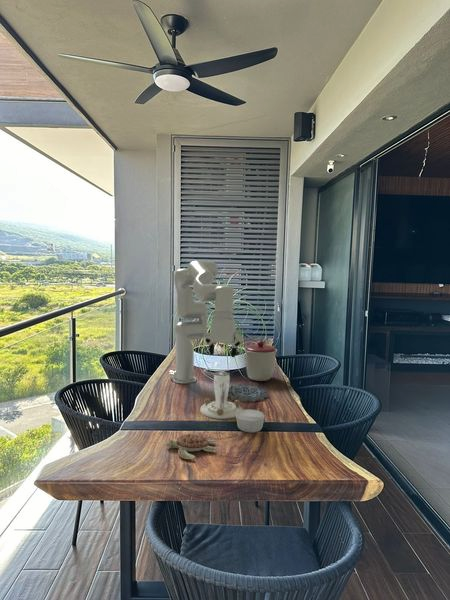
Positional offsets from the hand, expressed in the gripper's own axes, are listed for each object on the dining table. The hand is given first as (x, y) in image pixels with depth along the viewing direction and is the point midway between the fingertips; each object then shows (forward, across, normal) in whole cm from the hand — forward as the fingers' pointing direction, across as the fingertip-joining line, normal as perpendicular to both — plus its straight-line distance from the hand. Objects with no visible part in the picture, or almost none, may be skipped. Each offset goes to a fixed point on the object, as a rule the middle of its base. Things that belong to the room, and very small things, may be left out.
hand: (222, 355), depth 166 cm
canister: (+24, +3, +53) cm, 58 cm away
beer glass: (+23, 0, 0) cm, 23 cm away
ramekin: (+24, +16, -12) cm, 32 cm away
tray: (+24, 0, 0) cm, 24 cm away
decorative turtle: (+25, +2, -36) cm, 44 cm away
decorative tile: (+25, +4, +24) cm, 35 cm away
